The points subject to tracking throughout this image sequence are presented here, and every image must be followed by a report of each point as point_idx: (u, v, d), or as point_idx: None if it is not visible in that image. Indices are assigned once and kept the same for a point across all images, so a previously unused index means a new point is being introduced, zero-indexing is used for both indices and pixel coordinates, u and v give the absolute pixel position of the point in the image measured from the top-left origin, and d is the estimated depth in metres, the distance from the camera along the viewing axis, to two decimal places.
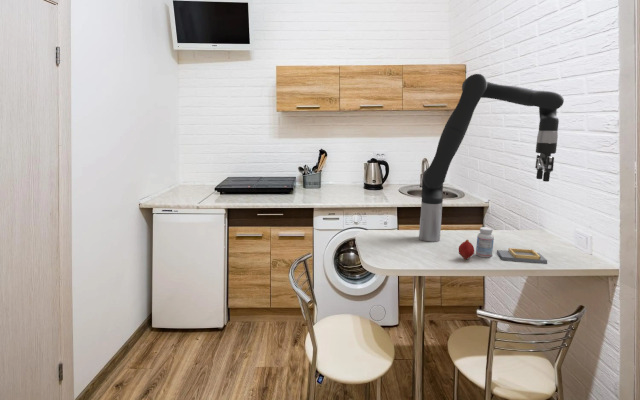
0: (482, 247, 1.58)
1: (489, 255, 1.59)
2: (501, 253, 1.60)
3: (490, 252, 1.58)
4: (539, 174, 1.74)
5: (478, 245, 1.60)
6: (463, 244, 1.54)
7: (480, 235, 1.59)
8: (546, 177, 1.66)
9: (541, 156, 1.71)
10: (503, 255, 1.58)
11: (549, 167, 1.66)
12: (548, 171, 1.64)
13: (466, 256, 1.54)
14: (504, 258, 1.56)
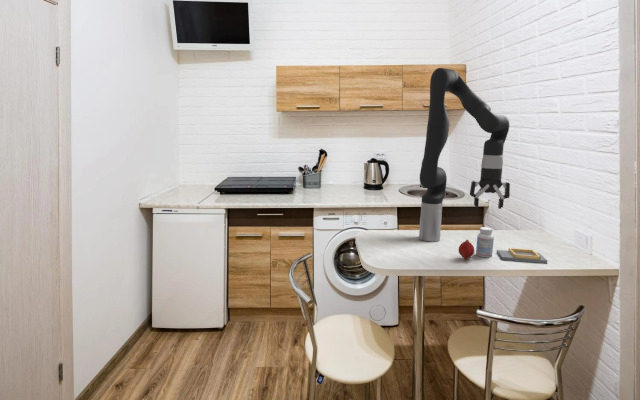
0: (482, 247, 1.58)
1: (489, 255, 1.59)
2: (501, 253, 1.60)
3: (490, 252, 1.58)
4: None
5: (478, 245, 1.60)
6: (463, 244, 1.54)
7: (480, 235, 1.59)
8: None
9: (488, 183, 1.56)
10: (503, 255, 1.58)
11: None
12: None
13: (466, 256, 1.54)
14: (504, 258, 1.56)
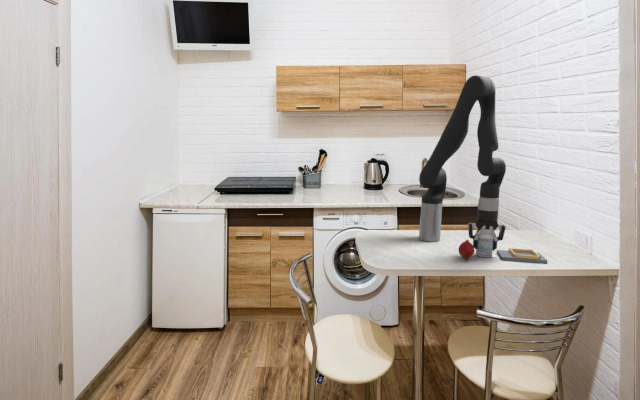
0: (482, 247, 1.58)
1: (489, 255, 1.59)
2: (501, 253, 1.60)
3: (490, 252, 1.58)
4: None
5: (478, 245, 1.60)
6: (463, 244, 1.54)
7: (480, 235, 1.59)
8: None
9: (484, 224, 1.58)
10: (503, 255, 1.58)
11: None
12: None
13: (466, 256, 1.54)
14: (504, 258, 1.56)
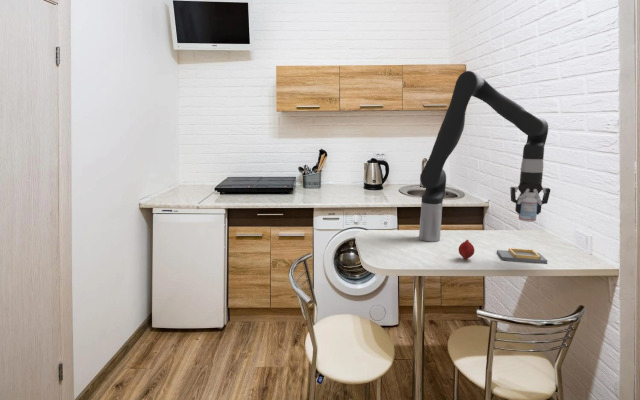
0: (526, 211, 1.53)
1: (533, 219, 1.53)
2: (501, 253, 1.60)
3: (534, 216, 1.53)
4: None
5: (521, 209, 1.55)
6: (463, 244, 1.54)
7: (523, 199, 1.54)
8: None
9: (528, 187, 1.53)
10: (503, 255, 1.58)
11: None
12: None
13: (466, 256, 1.54)
14: (504, 258, 1.56)
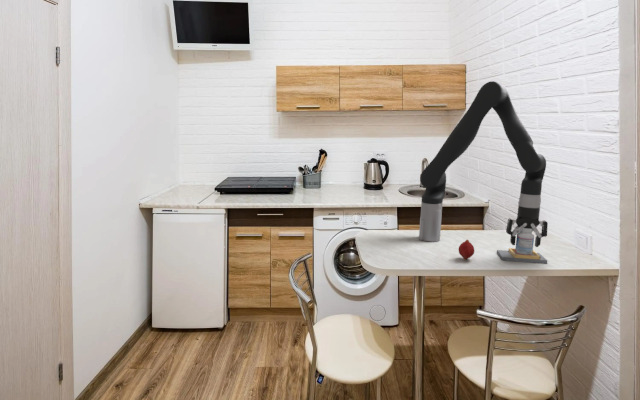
0: (523, 246, 1.56)
1: None
2: (501, 253, 1.60)
3: (530, 251, 1.56)
4: None
5: (518, 244, 1.57)
6: (463, 244, 1.54)
7: (520, 234, 1.56)
8: None
9: (525, 221, 1.56)
10: (503, 255, 1.58)
11: None
12: None
13: (466, 256, 1.54)
14: (504, 258, 1.56)
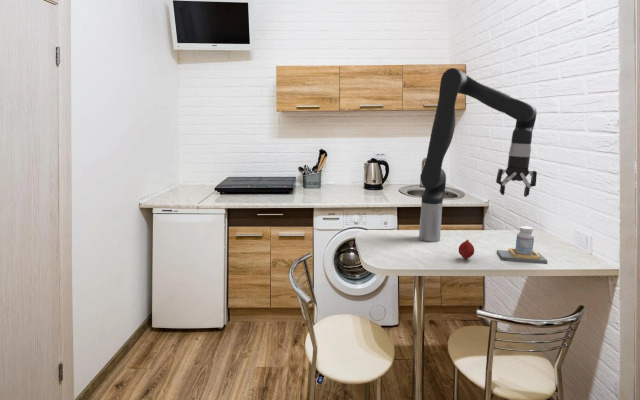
0: (523, 246, 1.56)
1: None
2: (501, 253, 1.60)
3: (530, 251, 1.56)
4: None
5: (518, 244, 1.57)
6: (463, 244, 1.54)
7: (520, 234, 1.56)
8: None
9: (515, 170, 1.58)
10: (503, 255, 1.58)
11: None
12: None
13: (466, 256, 1.54)
14: (504, 258, 1.56)
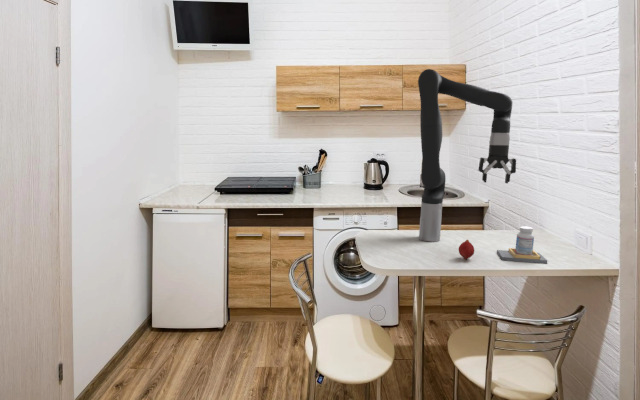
0: (523, 246, 1.56)
1: None
2: (501, 253, 1.60)
3: (530, 251, 1.56)
4: None
5: (518, 244, 1.57)
6: (463, 244, 1.54)
7: (520, 234, 1.56)
8: None
9: (495, 159, 1.67)
10: (503, 255, 1.58)
11: None
12: None
13: (466, 256, 1.54)
14: (504, 258, 1.56)
